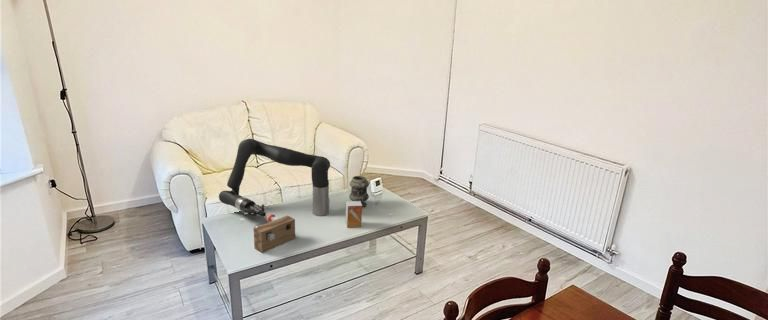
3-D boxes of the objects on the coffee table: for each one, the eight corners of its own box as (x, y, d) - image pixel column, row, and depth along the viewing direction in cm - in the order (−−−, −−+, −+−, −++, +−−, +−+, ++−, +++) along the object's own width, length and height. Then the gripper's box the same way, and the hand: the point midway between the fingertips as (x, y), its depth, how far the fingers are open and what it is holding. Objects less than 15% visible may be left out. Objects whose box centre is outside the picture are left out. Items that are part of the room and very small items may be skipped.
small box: (347, 228, 228) (347, 206, 224) (345, 222, 234) (346, 201, 230) (361, 227, 230) (362, 205, 226) (359, 222, 236) (360, 200, 232)
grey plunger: (253, 234, 204) (253, 226, 202) (261, 231, 207) (260, 223, 206) (268, 243, 197) (268, 234, 195) (276, 240, 200) (276, 231, 199)
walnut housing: (254, 248, 202) (253, 228, 199) (287, 234, 218) (287, 215, 214) (262, 253, 199) (261, 232, 196) (295, 238, 214) (294, 219, 211)
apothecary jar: (359, 199, 266) (361, 173, 261) (372, 206, 258) (373, 178, 253) (344, 204, 258) (345, 176, 253) (357, 210, 250) (358, 182, 245)
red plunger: (266, 222, 216) (266, 215, 215) (273, 220, 220) (273, 212, 218) (281, 230, 209) (281, 222, 208) (288, 227, 213) (288, 219, 211)
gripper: (234, 202, 224) (253, 212, 214) (255, 195, 234) (274, 204, 224) (234, 215, 227) (253, 225, 216) (255, 207, 237) (275, 217, 226)
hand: (264, 214), depth 220 cm, fingers closed
